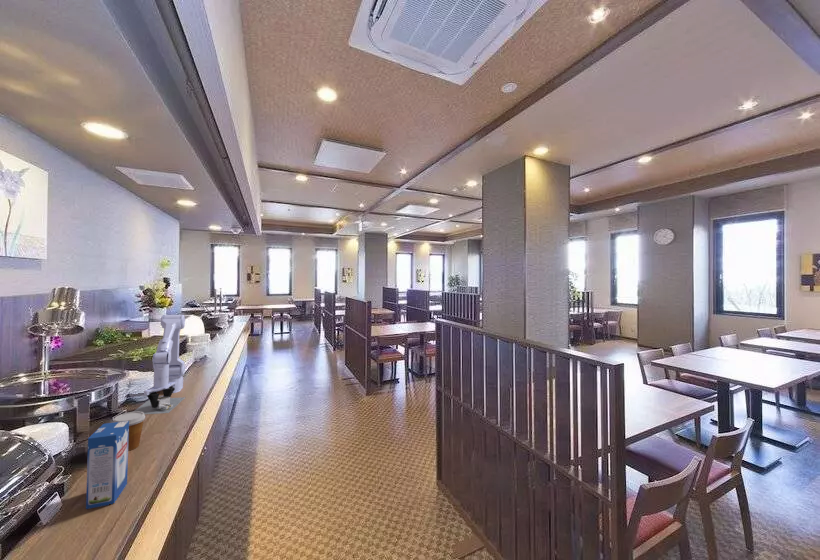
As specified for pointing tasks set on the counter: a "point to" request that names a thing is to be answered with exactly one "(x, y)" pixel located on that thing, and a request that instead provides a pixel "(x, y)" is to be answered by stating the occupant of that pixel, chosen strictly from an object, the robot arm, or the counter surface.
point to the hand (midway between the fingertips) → (160, 405)
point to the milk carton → (107, 464)
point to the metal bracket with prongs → (163, 402)
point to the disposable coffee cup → (132, 427)
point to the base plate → (148, 410)
